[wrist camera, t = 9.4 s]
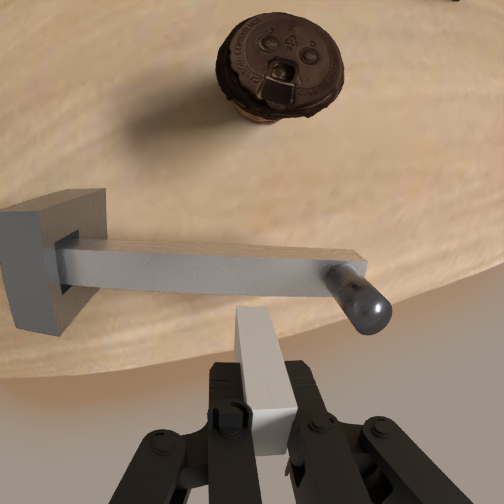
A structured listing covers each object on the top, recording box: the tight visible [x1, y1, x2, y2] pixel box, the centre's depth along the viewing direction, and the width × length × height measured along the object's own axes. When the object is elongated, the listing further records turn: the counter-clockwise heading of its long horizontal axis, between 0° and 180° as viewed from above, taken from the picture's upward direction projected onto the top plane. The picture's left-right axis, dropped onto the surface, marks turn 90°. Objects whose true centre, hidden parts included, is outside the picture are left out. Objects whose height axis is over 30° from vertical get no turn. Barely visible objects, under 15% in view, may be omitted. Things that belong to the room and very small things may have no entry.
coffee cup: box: [215, 12, 344, 124], centre depth 21 cm, size 9×8×13 cm
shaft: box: [54, 238, 392, 335], centre depth 20 cm, size 26×3×9 cm, turn 86°
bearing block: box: [0, 188, 107, 337], centre depth 24 cm, size 5×10×13 cm, turn 176°
